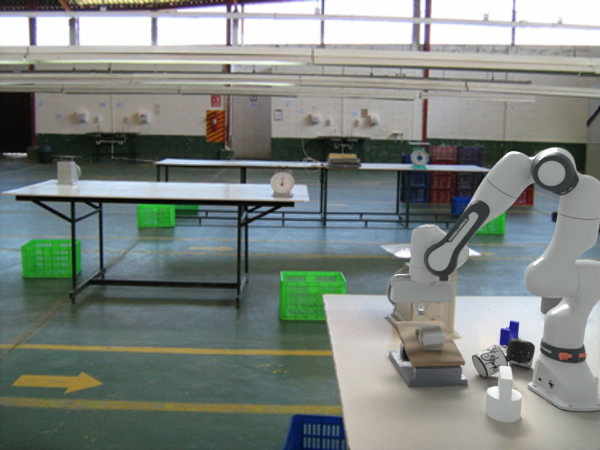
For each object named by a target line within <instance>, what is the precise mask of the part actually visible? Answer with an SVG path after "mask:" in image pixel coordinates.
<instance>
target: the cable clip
mask: <svg viewBox="0 0 600 450" xmlns="http://www.w3.org/2000/svg"><path fill="white" fill-rule="evenodd" d="M519 331H520V321H517V320H512V319H511V320H510V321H509V326H508V327H507V326H506V327H501V328H500V331H499V332H500V334H499V344H500V345H499V346H503V345H506V346H505V347H507V346H508V342H509V340H510V338H514V339H519V334H520V333H519Z"/></svg>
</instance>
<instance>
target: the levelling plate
mask: <svg viewBox="0 0 600 450" xmlns="http://www.w3.org/2000/svg"><path fill="white" fill-rule="evenodd" d="M394 327H395V329H396V332H397V334H398V336H399V339H400V341H401V342H400V343H402V344H403V346H404V349H405V351H406V354H407V356H408V358H409V361H410V363H411V365H412V367H420V366H459V365H460V366H465V363H466V361H465V359H464V356H463V355H462V353H461V351H460V349H459V348H458V346H457V344H456V343H455V341H454V339H453V337H452V336H451V333H450V331H449V330H448V328H447V326H446V325H445V323H444V321H443V320H406V321H405V320H402V321H395V322H394Z"/></svg>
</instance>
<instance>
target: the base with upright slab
mask: <svg viewBox="0 0 600 450" xmlns="http://www.w3.org/2000/svg"><path fill="white" fill-rule="evenodd" d="M513 378H514V377H513V372H512V367H511V366H509V365H508V366H499V372H498V380H497V386H496V385H495V386H491V387H488V388H487V390H486V397H485V398H486V399H485V409H484V411H485V412H484V413H485V415H487V417H489V418H491V419H492V420H495V421H497V422H501V423H514V422H515V421H516V422H517V421H519V420H520V419H521V412H522V402H523V401H522V399H523V395H522V393H521V392H520V391H519V390H518V389H517V390H516V389H514V388H513V381H514V379H513Z"/></svg>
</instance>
